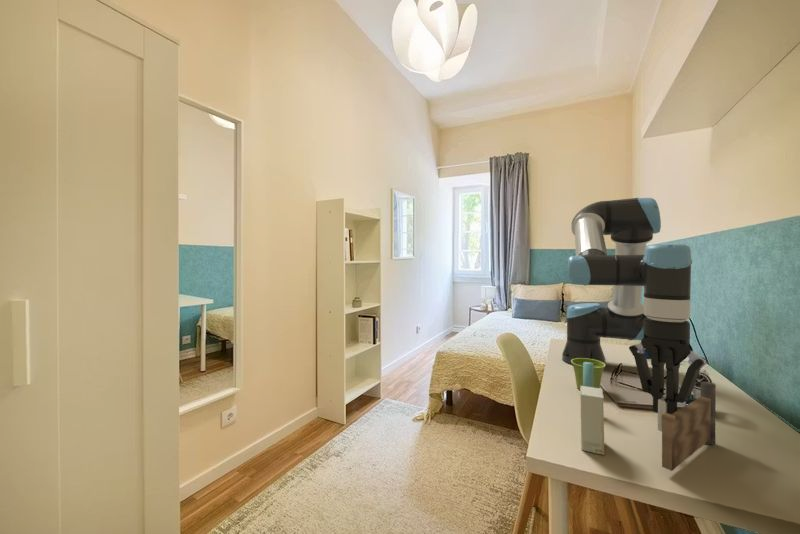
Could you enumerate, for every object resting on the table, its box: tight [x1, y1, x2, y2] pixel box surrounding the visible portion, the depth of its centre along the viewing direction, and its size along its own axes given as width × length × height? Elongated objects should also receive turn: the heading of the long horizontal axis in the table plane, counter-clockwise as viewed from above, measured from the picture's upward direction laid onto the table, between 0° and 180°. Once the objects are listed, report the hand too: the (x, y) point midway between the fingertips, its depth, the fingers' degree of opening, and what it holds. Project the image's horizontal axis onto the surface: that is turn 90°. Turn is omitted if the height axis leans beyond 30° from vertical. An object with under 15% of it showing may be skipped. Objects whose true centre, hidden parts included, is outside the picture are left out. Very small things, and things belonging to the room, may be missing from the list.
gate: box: [661, 382, 717, 472], centre depth 66 cm, size 22×2×13 cm, turn 121°
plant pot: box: [571, 358, 606, 390], centre depth 102 cm, size 9×9×9 cm
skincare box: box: [579, 386, 605, 456], centre depth 71 cm, size 6×4×12 cm
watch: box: [685, 368, 715, 405], centre depth 87 cm, size 6×8×11 cm
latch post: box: [583, 362, 593, 387], centre depth 87 cm, size 2×2×13 cm
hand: (664, 429), depth 68 cm, fingers closed
